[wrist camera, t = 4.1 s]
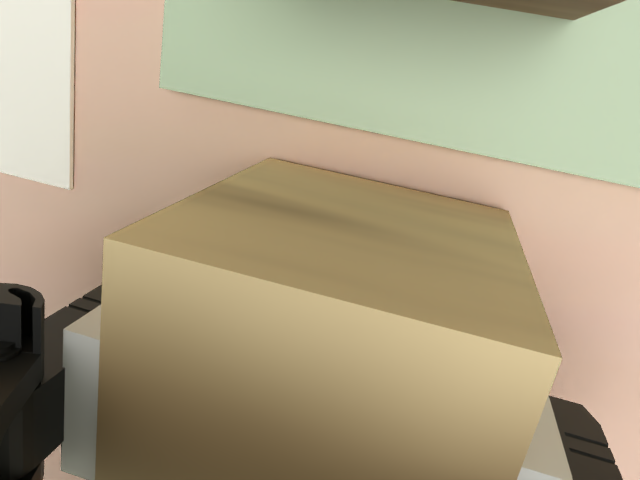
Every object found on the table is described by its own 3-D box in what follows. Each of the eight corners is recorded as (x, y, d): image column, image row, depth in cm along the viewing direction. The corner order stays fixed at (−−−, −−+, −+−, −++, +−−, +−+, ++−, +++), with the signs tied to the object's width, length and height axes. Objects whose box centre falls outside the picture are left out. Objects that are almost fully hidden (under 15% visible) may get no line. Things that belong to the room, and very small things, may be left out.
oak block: (445, 417, 15) (437, 690, 8) (241, 358, 16) (92, 560, 9) (508, 211, 13) (561, 358, 6) (269, 158, 14) (103, 237, 7)
